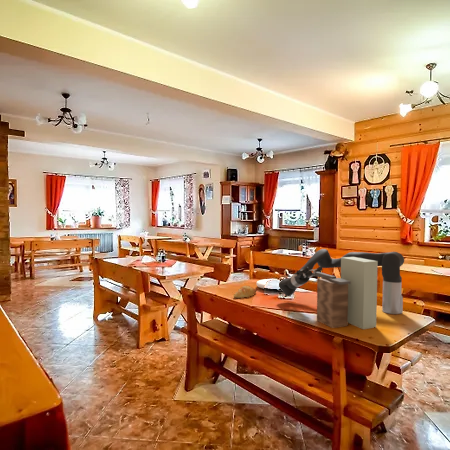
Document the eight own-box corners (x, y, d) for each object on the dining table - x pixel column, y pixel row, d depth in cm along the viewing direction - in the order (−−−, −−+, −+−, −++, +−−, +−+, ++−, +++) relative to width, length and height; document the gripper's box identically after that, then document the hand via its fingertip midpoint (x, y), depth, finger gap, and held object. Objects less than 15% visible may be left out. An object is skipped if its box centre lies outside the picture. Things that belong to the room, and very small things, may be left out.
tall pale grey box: (340, 319, 171) (341, 257, 170) (352, 317, 174) (353, 256, 173) (363, 329, 156) (364, 262, 155) (376, 327, 159) (377, 261, 158)
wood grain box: (316, 320, 169) (317, 278, 168) (331, 318, 172) (331, 277, 172) (332, 328, 158) (333, 283, 157) (347, 325, 161) (348, 282, 160)
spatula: (311, 275, 175) (311, 272, 175) (321, 275, 177) (321, 271, 177) (340, 284, 155) (340, 280, 155) (350, 283, 157) (350, 279, 157)
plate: (258, 277, 256) (293, 278, 251) (258, 285, 256) (293, 287, 250) (254, 280, 229) (293, 282, 223) (254, 290, 228) (293, 292, 223)
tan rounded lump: (237, 305, 209) (241, 295, 206) (227, 295, 215) (231, 285, 212) (259, 298, 224) (263, 288, 221) (249, 289, 230) (253, 279, 227)
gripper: (312, 283, 191) (328, 274, 178) (290, 285, 186) (305, 276, 173) (308, 271, 195) (323, 261, 181) (287, 273, 190) (301, 262, 176)
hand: (314, 268), depth 177 cm, fingers open, 8 cm apart
